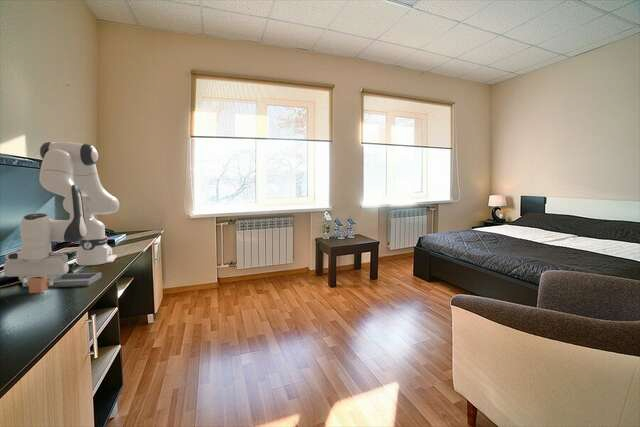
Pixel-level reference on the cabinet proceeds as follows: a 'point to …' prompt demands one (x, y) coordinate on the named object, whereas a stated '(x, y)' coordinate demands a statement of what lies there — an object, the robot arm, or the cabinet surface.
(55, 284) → the tray
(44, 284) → the terracotta block
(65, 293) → the cabinet surface
